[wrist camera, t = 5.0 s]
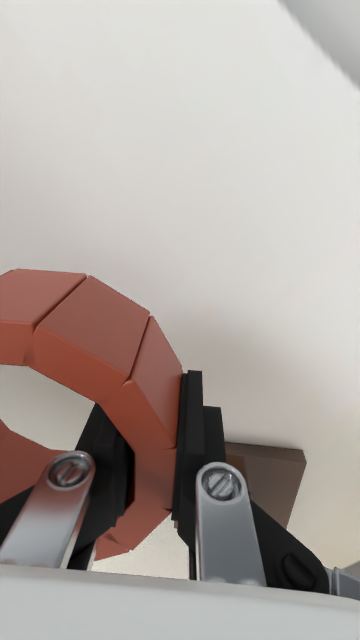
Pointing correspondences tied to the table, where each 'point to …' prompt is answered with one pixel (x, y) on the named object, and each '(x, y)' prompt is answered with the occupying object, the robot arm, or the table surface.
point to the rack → (268, 476)
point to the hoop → (95, 385)
